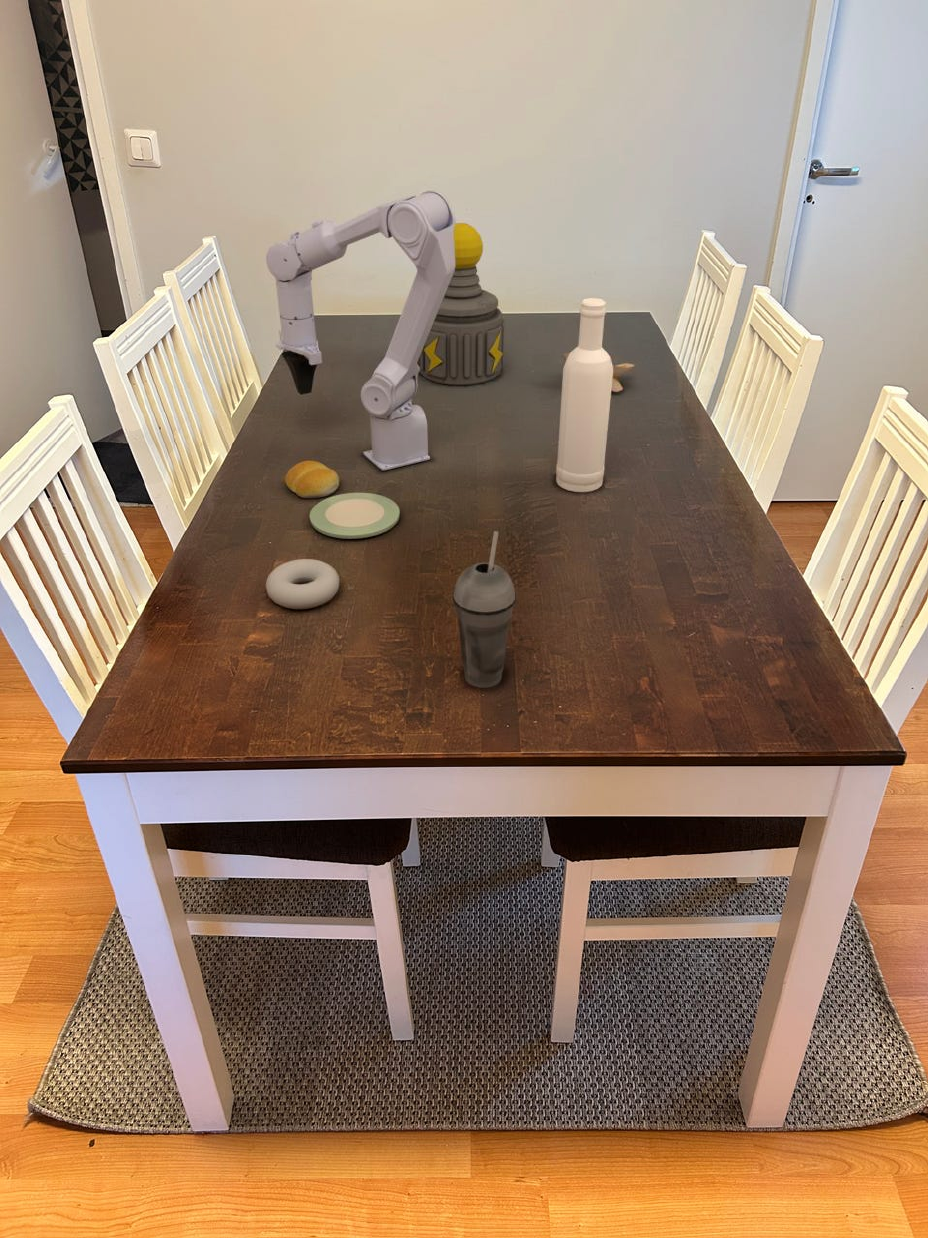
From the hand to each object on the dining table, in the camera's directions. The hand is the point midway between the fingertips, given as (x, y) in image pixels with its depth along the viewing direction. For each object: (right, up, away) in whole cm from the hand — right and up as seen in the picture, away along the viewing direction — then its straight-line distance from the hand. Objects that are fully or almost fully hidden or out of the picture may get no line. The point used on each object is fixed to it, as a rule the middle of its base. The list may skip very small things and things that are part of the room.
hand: (304, 392), depth 164 cm
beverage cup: (+31, -47, -51) cm, 76 cm away
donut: (+6, -37, -36) cm, 52 cm away
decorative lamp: (+27, +13, +35) cm, 47 cm away
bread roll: (+3, -18, -10) cm, 21 cm away
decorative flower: (+57, +8, +28) cm, 64 cm away
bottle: (+48, -17, -8) cm, 51 cm away
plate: (+11, -24, -19) cm, 33 cm away
